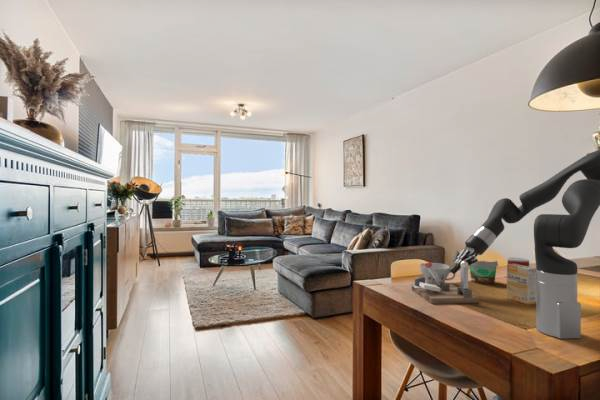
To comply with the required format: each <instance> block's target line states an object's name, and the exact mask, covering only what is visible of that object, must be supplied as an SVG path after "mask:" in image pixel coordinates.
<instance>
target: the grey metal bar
mask: <svg viewBox="0 0 600 400" xmlns="http://www.w3.org/2000/svg"><path fill="white" fill-rule="evenodd" d="M460 266H461V268H460V287H461V294H463V290H469V266H468V263H467V262H466V261H462V262H461V263H460Z"/></svg>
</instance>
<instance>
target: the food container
mask: <svg viewBox="0 0 600 400" xmlns="http://www.w3.org/2000/svg"><path fill="white" fill-rule="evenodd" d="M468 267H469V274H470V281H471V282H472V283H475V284H479V285H494V284H495V281H496V273H497V267H499V263H498V260H497V259H496V260H494V261H487V260H478V261H477V262H475V263H473V264H471V265H469V266H468Z"/></svg>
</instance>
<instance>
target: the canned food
mask: <svg viewBox="0 0 600 400" xmlns="http://www.w3.org/2000/svg"><path fill="white" fill-rule="evenodd" d="M507 264H519V265H524V266H529V267H530V259H528V258H523V257H508V258H507Z"/></svg>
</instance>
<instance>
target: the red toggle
mask: <svg viewBox="0 0 600 400" xmlns="http://www.w3.org/2000/svg"><path fill="white" fill-rule="evenodd" d="M431 263H432V262H430V261H426V262H425V267H426V268H427V269H428V270H429V272H430V273H431V275H432V276H433V277H434V279H435V280H436V282H437V283H438V285H439V286H440V287H441V283H443V281H442V280H441V278H440V277H439V275H438V274H437V272H436V271H435V269H434V268H433V266H432V264H431Z"/></svg>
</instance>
